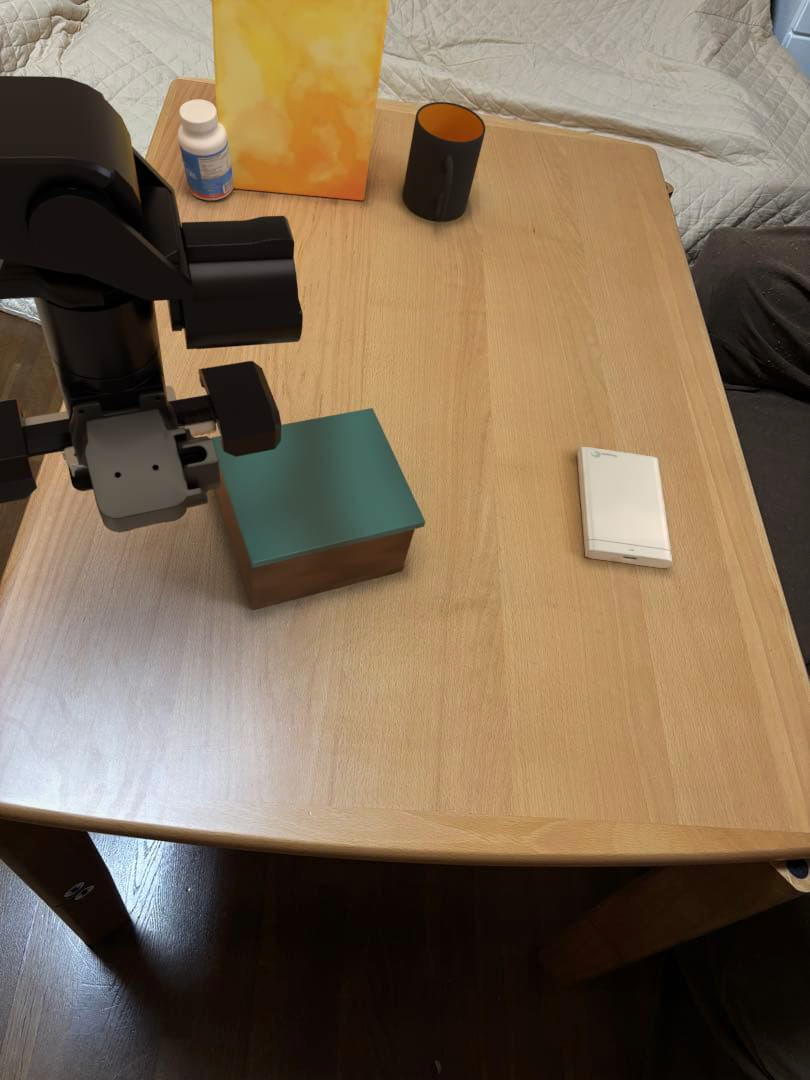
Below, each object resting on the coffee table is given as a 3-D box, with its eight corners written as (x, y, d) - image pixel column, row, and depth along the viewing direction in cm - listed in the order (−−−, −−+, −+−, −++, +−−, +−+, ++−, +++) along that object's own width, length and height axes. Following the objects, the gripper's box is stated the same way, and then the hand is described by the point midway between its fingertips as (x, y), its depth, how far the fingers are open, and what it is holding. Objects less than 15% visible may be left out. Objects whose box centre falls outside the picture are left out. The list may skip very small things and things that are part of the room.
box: (355, 462, 76) (363, 415, 71) (402, 571, 71) (415, 529, 65) (214, 491, 72) (210, 443, 66) (252, 610, 66) (251, 569, 61)
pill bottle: (182, 177, 95) (166, 99, 87) (226, 167, 97) (214, 89, 88) (196, 206, 93) (180, 130, 84) (240, 196, 94) (229, 119, 86)
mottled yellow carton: (359, 143, 105) (383, -69, 85) (363, 201, 98) (391, -14, 79) (223, 129, 102) (216, -95, 82) (219, 188, 95) (209, -40, 76)
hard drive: (581, 445, 80) (590, 548, 73) (659, 456, 81) (675, 560, 74) (575, 455, 81) (584, 557, 75) (652, 466, 82) (667, 569, 75)
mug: (402, 236, 96) (417, 155, 87) (401, 177, 103) (415, 96, 94) (469, 244, 97) (490, 166, 89) (464, 185, 104) (483, 107, 95)
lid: (371, 413, 71) (372, 407, 70) (424, 527, 65) (425, 521, 65) (210, 443, 66) (210, 437, 66) (251, 568, 61) (252, 563, 60)
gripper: (-75, 494, 36) (12, 641, 49) (315, 420, 42) (301, 568, 55) (-93, 326, 41) (-10, 499, 54) (257, 281, 47) (256, 447, 60)
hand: (139, 505), depth 56 cm, fingers closed
